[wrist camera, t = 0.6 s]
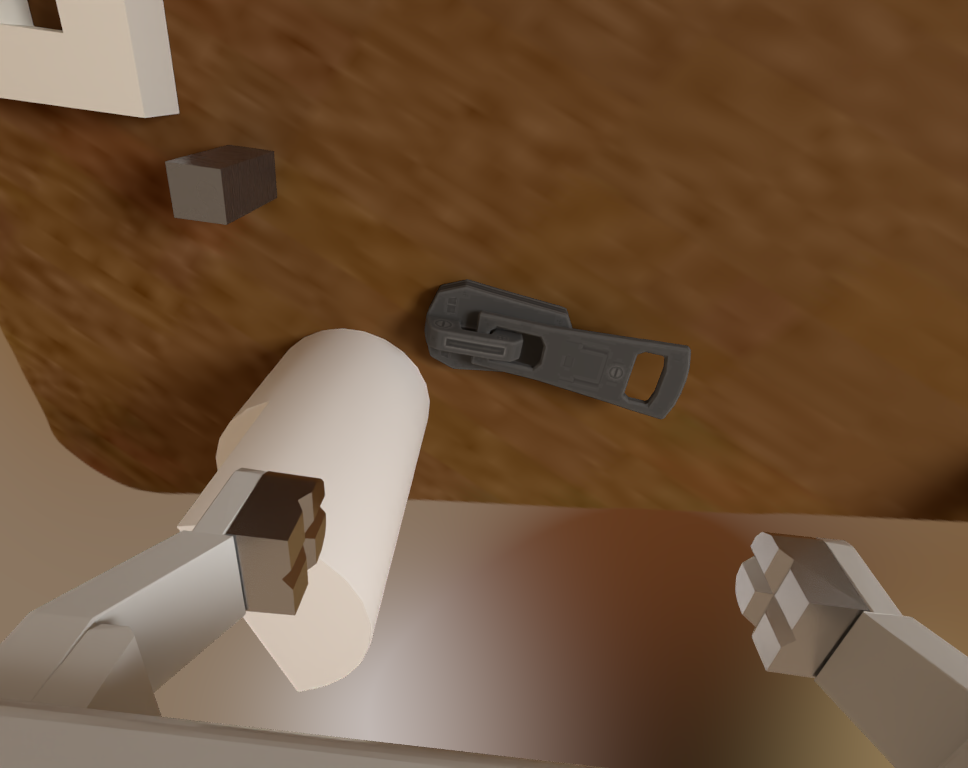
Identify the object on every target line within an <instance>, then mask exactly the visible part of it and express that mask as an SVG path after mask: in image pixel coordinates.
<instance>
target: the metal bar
mask: <svg viewBox="0 0 968 768" xmlns="http://www.w3.org/2000/svg"><path fill="white" fill-rule="evenodd" d="M165 164H166V170H167V176H168V182H169V188H170V194H171V200H172V206H173V212H174V218H182V219H189V220H196V221H204V222H211V223H218V224H225V225H227V224H229V223H231V222H233V221H235V220H237V219H238V218H240V217H242V216H244V215H246V214H248V213H250V212H251V211H253V210H255V209H257V208H259V207H261V206H263V205H264V204H266V203H268V202H270V201H272V200H274V199H276V198H277V189H276V175H275V160H274V151H269V150H262V149H255V148H248V147H240V146H233V145H226V146H222V147H219V148H215V149H211V150H207V151H203V152H200V153H196V154H192V155H188V156H185V157H181V158H177V159H173V160H169V161H166V162H165Z"/></svg>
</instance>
